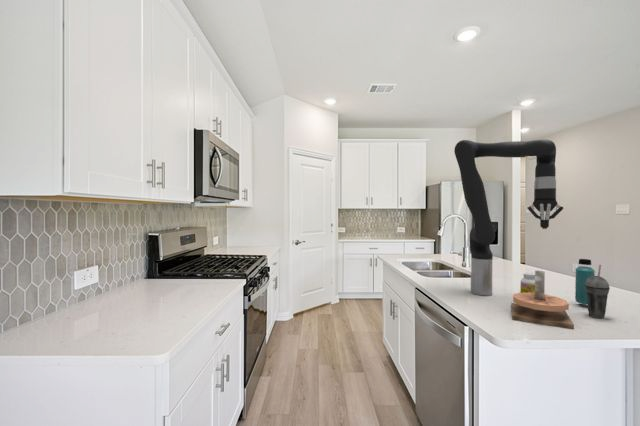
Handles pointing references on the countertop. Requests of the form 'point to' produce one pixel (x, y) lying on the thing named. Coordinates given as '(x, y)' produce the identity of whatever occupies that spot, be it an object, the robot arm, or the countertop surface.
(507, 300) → the countertop surface
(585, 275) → the beverage bottle
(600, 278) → the beverage cup
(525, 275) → the supplement bottle
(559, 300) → the collar
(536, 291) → the pipe stand
